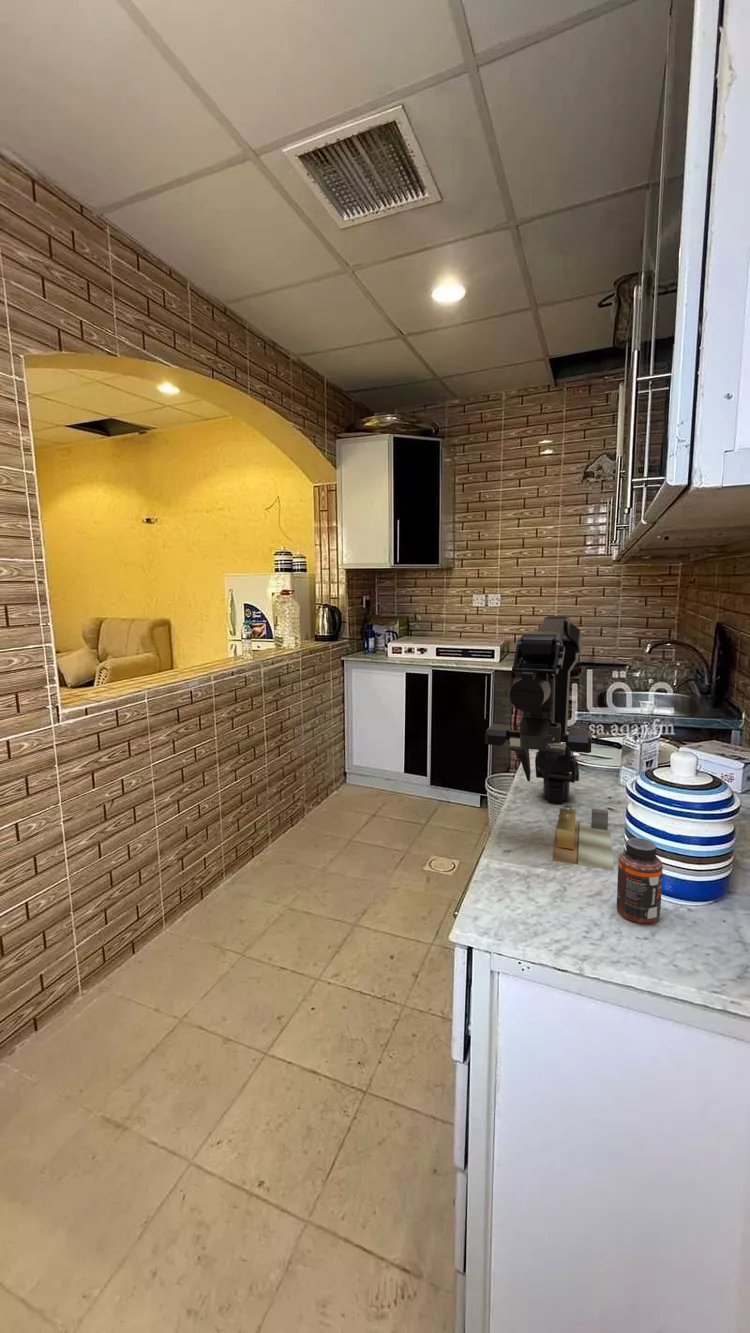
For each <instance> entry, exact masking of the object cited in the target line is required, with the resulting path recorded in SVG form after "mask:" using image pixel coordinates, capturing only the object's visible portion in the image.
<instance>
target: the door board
mask: <svg viewBox="0 0 750 1333" xmlns="http://www.w3.org/2000/svg"><path fill="white" fill-rule="evenodd" d="M557 827H558V821H557V823H556V830H555V836H554V845H553V852H552V862H558V863H564V864H569V865H570V864H571V865H577V866H582V867H583V866H584V867H589V868H595V869H600V870H609V871H614V860H613V859H614V858H613V857H614V856H613V848H612V847H613V846H612V836H611V835H612V834H611V826H609V825H608V830H601V829H594V828H591V823H586V822H580V821H579V822H578V821H575V840H574V849H569V848H562V847H557Z"/></svg>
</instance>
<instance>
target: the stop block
mask: <svg viewBox="0 0 750 1333" xmlns="http://www.w3.org/2000/svg"><path fill="white" fill-rule="evenodd" d="M608 823H609V810H606V809H597V808H591V819H590V824H591V828H594V829H601V830H608V826H609V824H608Z"/></svg>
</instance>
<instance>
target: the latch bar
mask: <svg viewBox="0 0 750 1333" xmlns="http://www.w3.org/2000/svg"><path fill="white" fill-rule="evenodd" d="M576 812H577V810H576V809H573V807H572V806H570V805H564V806H563V808H559V811H558V819H557V822H558V827H557V826H556V829H557V847H562V848H569V849H574V840H575V822H576V816H577V815H576V814H577V813H576Z"/></svg>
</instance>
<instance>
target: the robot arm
mask: <svg viewBox="0 0 750 1333" xmlns="http://www.w3.org/2000/svg"><path fill="white" fill-rule="evenodd" d="M582 650H583V638H582V632H581V629H580V628H579V627H577V626H576V625H574V624H573V623H572V622H571V618H570V616H566V615H548V616H545V617H544V619H543V623H542V624H541V625H540V626H539V628H538V629H536V631H529V632H525V633H523V634H522V635H520V639H517V642H516V646H515V652H514V657H513V658H514V659H513V664H512V669H511V670H512V673H520V678H519V679H518V680H517V681H516V682H514V683H513V685H512V686H511V688H510V691H509V699H510V702H511V704H512V705H513V707H514V708H515V709H517V710H519V711H520V712H521V720H520V724H519V730H512V729H511V725H510V724H499V723H492V724H490V726H488V728H487V729H486V731H485V735H484V738H485V739H484V743H485V744H486V745H487V746H488V745H489V746H490V745H491V746H500V747H501V746H503V745H504V744H505V743H506V742H507V741H509V743H510V744H509V747H508V749H509V750H510V751H513V752H514V753H516V755H517V757H518V758H519V761H520V763H521V766H522V768H523V773H524V774H525V778H526V781H527V782H530V781H531V774H532V773H531V760H530V750H536V752H535V759H534V760H535V761H534V765H535V766H534V767H535V778H536V779H539V778H540V779H543V787H542V788H543V790H542V793H543V794H542V798H543V800H545V801H546V802H547V803H548V804H550V805H558V806H562V805H563V804H565V803H568V802H569V801H570V784H571V783H572V784H575V782H579V781H580V765H579V764H580V763H579V762H578V761H577V760H578V759H577V756H576V755H574V753H581V754H582V753H583V754H590V753H592V739H593V738H592V733H591V732H590V731H589V730H586V729H585V730H584V729H570V728H569V729H568V720H569V700H570V699H569V698H570V683H571V682H570V681H571V671H572V670H573V668H574V667H575V666H576V664H577V663H578V661H579V655H580V654H581V653H582Z"/></svg>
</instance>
